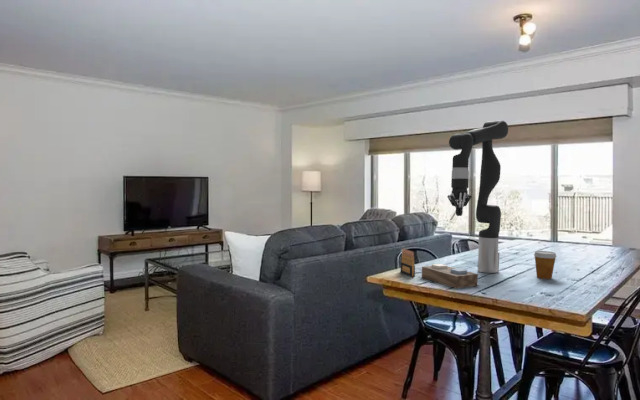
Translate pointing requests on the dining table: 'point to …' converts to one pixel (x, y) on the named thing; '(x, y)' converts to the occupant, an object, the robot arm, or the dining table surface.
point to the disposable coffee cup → (544, 264)
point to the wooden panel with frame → (408, 263)
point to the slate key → (459, 271)
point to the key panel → (450, 277)
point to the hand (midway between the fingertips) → (459, 215)
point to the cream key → (439, 266)
